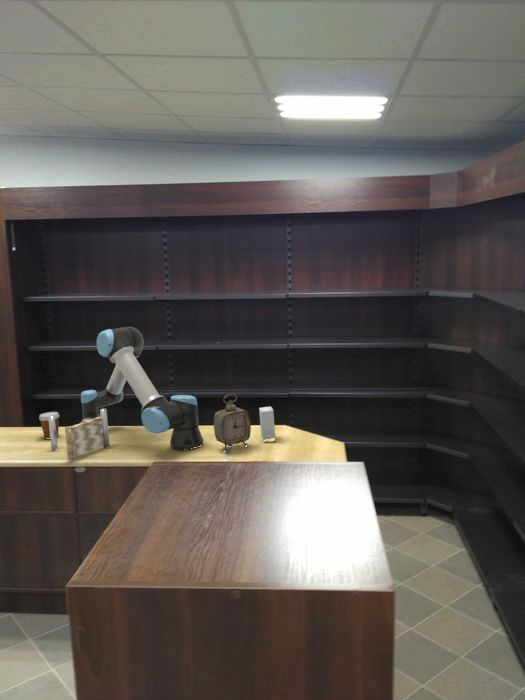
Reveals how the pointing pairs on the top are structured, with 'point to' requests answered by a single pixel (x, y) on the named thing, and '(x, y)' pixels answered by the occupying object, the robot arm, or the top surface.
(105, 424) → the hinge post
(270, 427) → the skincare box
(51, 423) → the post
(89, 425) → the gate
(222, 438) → the tabletop clock
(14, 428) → the top surface
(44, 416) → the disposable coffee cup
